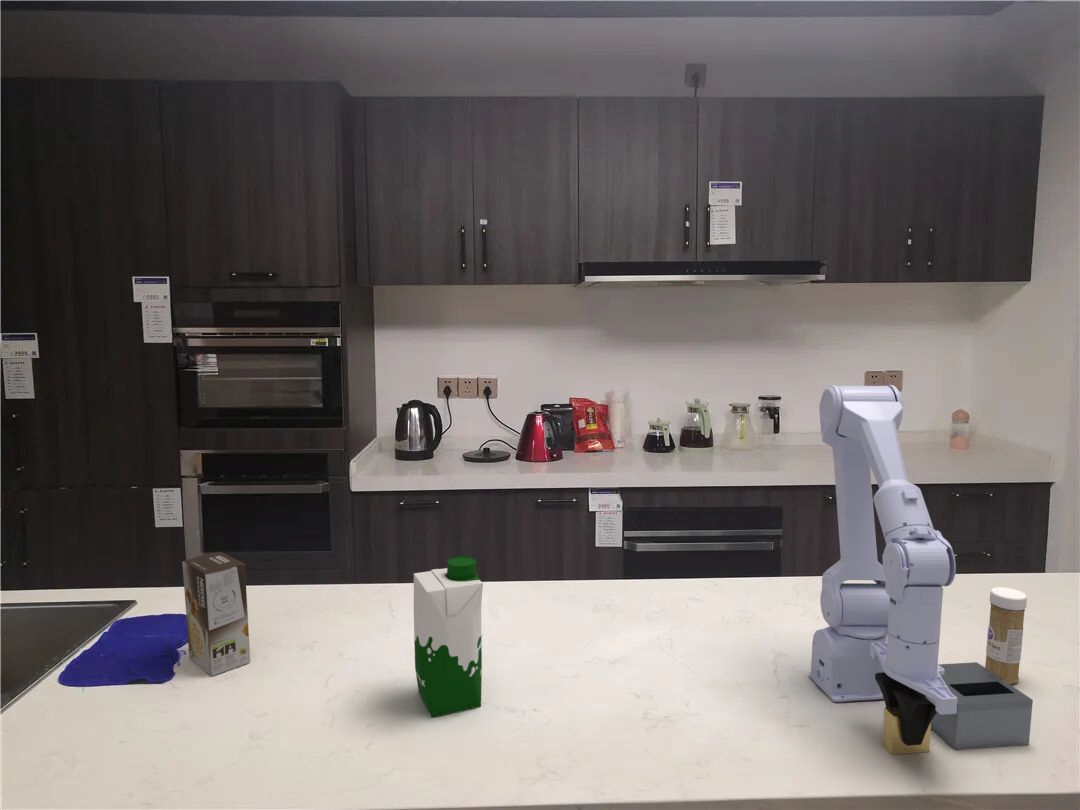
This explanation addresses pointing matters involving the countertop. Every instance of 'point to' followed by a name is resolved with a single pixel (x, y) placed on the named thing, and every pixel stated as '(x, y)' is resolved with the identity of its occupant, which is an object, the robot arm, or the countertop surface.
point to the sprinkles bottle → (1005, 633)
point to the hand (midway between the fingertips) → (906, 737)
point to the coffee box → (216, 612)
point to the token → (899, 734)
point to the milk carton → (448, 636)
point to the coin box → (983, 710)
